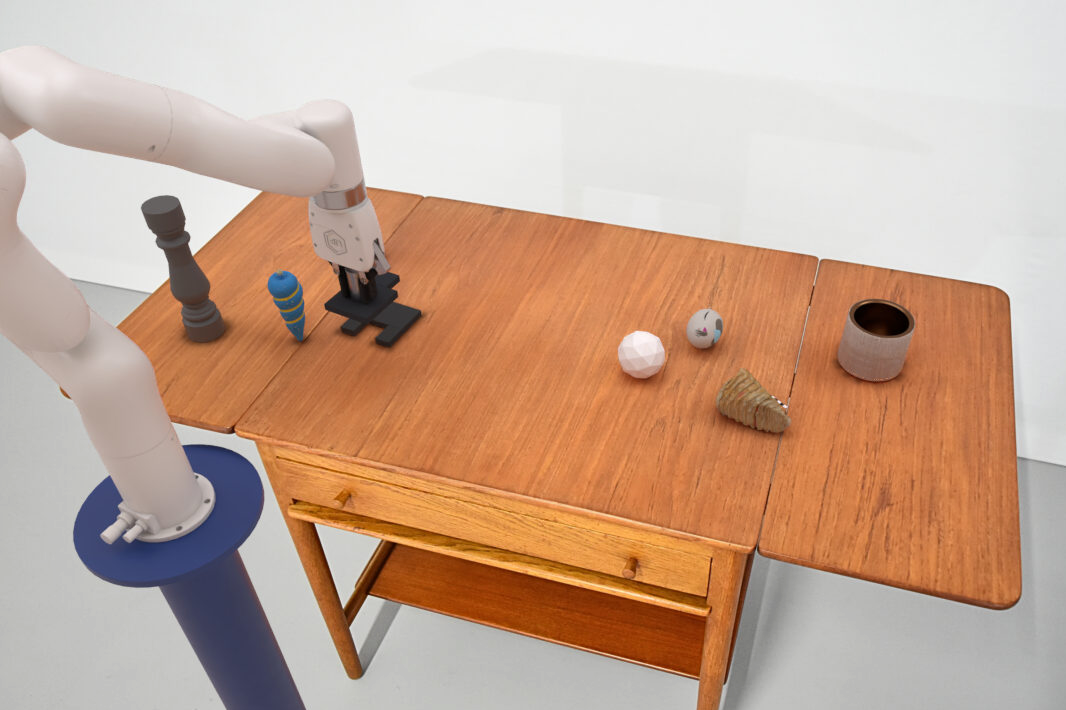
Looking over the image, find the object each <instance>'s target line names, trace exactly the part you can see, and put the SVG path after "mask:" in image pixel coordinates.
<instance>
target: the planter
mask: <svg viewBox="0 0 1066 710" xmlns="http://www.w3.org/2000/svg"><path fill="white" fill-rule="evenodd" d="M916 323H917V322H916V319H915V316H914V315H913V314H912V313H911V312H910V311H909V310H908V309H907V308H906V307H905V306H903V305H901V304H900V303H897V302H895V301H891V300H888V299H885V298H884V299H883V298H865V299H861V300H858V301H857V302H855V303H853V304H852V305H851V306H850V308H849V309H848V311H847V316H846V320H845V324H844V328H843V331H842V335H841V338H840V342H839V345H838V348H837V361H838V363H839V365H840V366H841V367H842V369H843V370H844V371H845V372H846V373H848V374H849V375H851V376H853V377H855V378H856V379H860V380H863V381H867V382H886V381H889V380H893V379H894V378H896V377H898V376H899V374H900V373H901V372H902V370H903V368H904V365H905V361H906V359H907V355H908V352H909V348H910V344H911V342H912V339H913V335H914V332H915V328H916ZM838 358H839V359H838ZM840 362H841V363H840ZM848 370H849V371H848ZM851 372H852V373H851ZM899 372H900V373H899ZM853 373H854V374H853ZM898 373H899V374H898ZM855 374H856V375H855ZM857 375H858V376H857ZM895 375H896V376H895ZM893 376H894V377H893ZM863 377H864V378H863ZM890 377H892V378H890ZM886 378H888V379H886ZM874 379H875V380H874ZM876 379H877V380H876ZM878 379H879V380H878ZM880 379H883V380H880Z"/></svg>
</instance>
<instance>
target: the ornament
mask: <svg viewBox="0 0 1066 710" xmlns="http://www.w3.org/2000/svg"><path fill="white" fill-rule="evenodd" d="M267 290H268V293H270V295H271V296H272V301H273V304H274V305H275V306H276V307H277V308H278V309H279V314H280V316H281V318H282V319H283V320H284V322H285V326H286V328H287V330H288V331H289V332H290V333H291V334H292V335H293V336H294V337H295V339H296V340H297V341H298V342H303V340H304V331H305V325H306V313H305V299H304V298H303V297H304V296H303V295H304V289H303V285H302V284H301V283H300V281H299V280H298V278H297V277H296V275H294V274H293V273H292V272H290V271H288V270H282V269H276V272H273V273H272V274H271V275H270V276H269V277H268V280H267Z"/></svg>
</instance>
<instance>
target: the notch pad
mask: <svg viewBox="0 0 1066 710" xmlns="http://www.w3.org/2000/svg"><path fill="white" fill-rule="evenodd" d="M421 317H423V316H422V310H421V309H418V308H414V307H411V306H409V305H405V304H402V303H399V302H396V301H393V302H392V303H391V304H390V305H389V306H388V307H387V308H385V309H384V310H383V311H382V312H381V313H380V314H379V315H378V316H377V317H375V318H374V319H373V320H372V321H371V322H370V323H369V324H368V325H373V326H375V327H377V328H381V329H383V330H381V331H380V332H379V333H378V334H377V336H375V338H374V341H375V344H377V345H379V346H383V347H385V348H389V349H390V348H391V347H392V346H393V345H394V344H395V343H396V342H397V341H398V340H399V339H400V338H401V337H402V336H403V335H404V334H405V333H406V332H407V331H408V330H409V329H410V328H411V327H412V326H413V325H414V324H415V323H416V322H417V321H418V320H419V319H420V318H421ZM366 326H367V324H364V323H361V322H358V321H355V320H353V319H350V318H348V319H347V320H346V321H344V322H343V324H342V325H340V326H339V328H340V332H341V333H343V334H347V335H350V336H353V337H356V336H357V335H358V334H359V333H360V332H361V331H362V330H363V329H364V328H365V327H366Z"/></svg>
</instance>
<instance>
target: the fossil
mask: <svg viewBox="0 0 1066 710" xmlns="http://www.w3.org/2000/svg"><path fill="white" fill-rule="evenodd" d="M782 407H783V408H784V409H787V408H788V405H786V404H785V403H783V402H782V401H780V400H779V399H778V398H776V397H775V396H774V395H772V394H771V393H770V392H769V391H768V390H767V389H766V388H765V387H764V386H762V384H761V382H760V381H759V380H758V379H756V378H755V376H754V375H753V374H752V373H751V372H750V371H749V369H748V368H743V367H742V368H739V369H738V372H737V373H736V374H735V375H734V376H733V377H731V378H729V379H728V380H727V381H725V382H724V383H723V385H722V387H721V388H720V389H719V391H718V392H717V394H716V397H715V408H716V410H717V411H718V412H719V414H720V413H721V415H722V416H727V418H729V419H734V420H735V422H736V423H742V425H744V426H750V428H751V429H755V428H756V429H757V431H762V430H764V431H765V432H766V433H768V432H770V433H780V432H783V431H784V430H786V429H788V427H790V426H791V425H792V418H791V416H789V415H787V414H785V411H783V408H782Z"/></svg>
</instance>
